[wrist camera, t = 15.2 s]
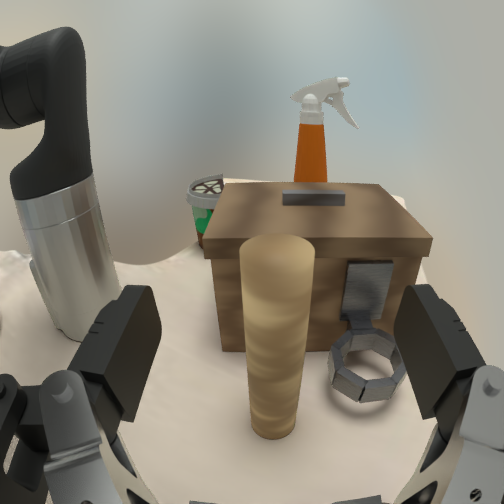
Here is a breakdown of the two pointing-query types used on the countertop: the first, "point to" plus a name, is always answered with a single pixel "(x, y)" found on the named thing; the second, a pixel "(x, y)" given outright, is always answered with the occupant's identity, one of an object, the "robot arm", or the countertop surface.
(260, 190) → the toolbox
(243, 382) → the countertop surface
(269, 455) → the countertop surface
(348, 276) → the hasp
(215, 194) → the food container
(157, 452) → the countertop surface
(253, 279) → the tan wooden cylinder
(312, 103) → the spray bottle
